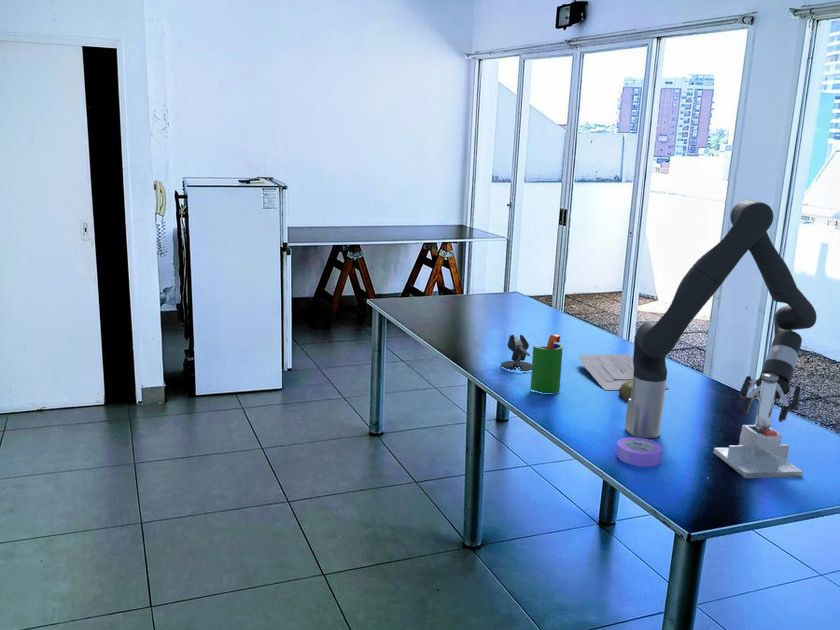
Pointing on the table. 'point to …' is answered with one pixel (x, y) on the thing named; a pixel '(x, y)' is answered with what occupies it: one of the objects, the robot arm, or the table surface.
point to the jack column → (766, 402)
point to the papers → (609, 369)
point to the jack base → (759, 455)
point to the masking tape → (639, 451)
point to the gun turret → (518, 354)
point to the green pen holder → (547, 366)
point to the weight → (626, 390)
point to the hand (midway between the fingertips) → (762, 416)
